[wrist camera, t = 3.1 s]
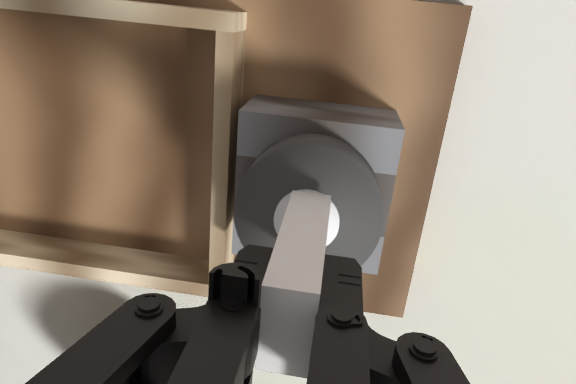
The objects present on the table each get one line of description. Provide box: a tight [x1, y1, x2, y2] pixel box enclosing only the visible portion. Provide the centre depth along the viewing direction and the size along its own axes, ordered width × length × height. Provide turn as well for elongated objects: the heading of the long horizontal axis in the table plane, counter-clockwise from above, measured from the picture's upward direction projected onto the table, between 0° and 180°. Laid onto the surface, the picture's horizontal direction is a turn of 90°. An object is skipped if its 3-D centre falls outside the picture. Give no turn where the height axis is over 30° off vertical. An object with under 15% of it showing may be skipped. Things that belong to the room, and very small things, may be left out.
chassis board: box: [0, 0, 472, 317], centre depth 24 cm, size 29×17×5 cm, turn 85°
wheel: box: [233, 133, 383, 266], centre depth 21 cm, size 6×6×6 cm
